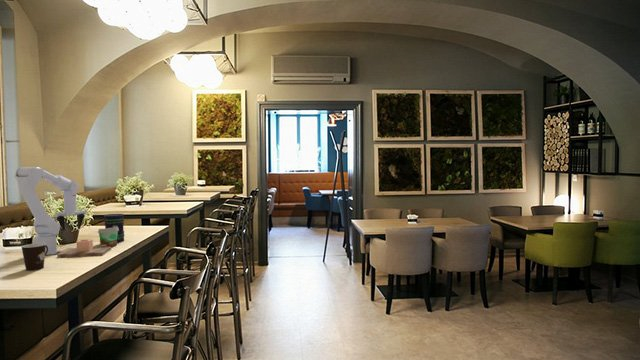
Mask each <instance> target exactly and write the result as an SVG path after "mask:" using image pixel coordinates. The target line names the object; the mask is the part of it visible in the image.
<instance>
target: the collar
mask: <svg viewBox="0 0 640 360" xmlns="http://www.w3.org/2000/svg"><path fill="white" fill-rule="evenodd" d="M75 242H76V248H77V252H85V251H91V250H92V249H93V247H94V245H93V244H94V243H93V242H94V241H93V238H91V239H90V238H86V239H82V238H81V239H79V240H77V241H75Z"/></svg>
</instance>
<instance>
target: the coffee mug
mask: <svg viewBox="0 0 640 360" xmlns="http://www.w3.org/2000/svg"><path fill="white" fill-rule="evenodd" d="M45 247H46V248H47V250H46V253H45ZM21 251H22V256H23V262H24V267H25V271H27V272H28V271H29V272H31V271H40V270H43V269H44V268H45V256H47V255H46V254H47V252H48V246H46V244H43V243H38V244H33V243H29V244H24V245H22V246H21Z"/></svg>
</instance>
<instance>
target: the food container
mask: <svg viewBox="0 0 640 360" xmlns="http://www.w3.org/2000/svg"><path fill="white" fill-rule="evenodd" d="M117 231H119V229H118V226H113V227H112V228H106V229H105V228H99V229H98V231H97V232H98V233H97V234H98V237H99V245H100V246H99V247H111V248H113V247H114V248H115V247H117V245H118V243H117Z"/></svg>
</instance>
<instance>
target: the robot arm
mask: <svg viewBox="0 0 640 360" xmlns="http://www.w3.org/2000/svg"><path fill="white" fill-rule="evenodd" d="M14 178H15V180H16V182H17V185H18V190H19V193H20V194H21V196H22V198H23V200H24V201H25V204H26V205H27V206H28V209H29V211H30V212H31V214H32V216H33V218H34V221H33V223H32V225H33V227H34V233H36V234H37V235H36V236H34V237H33V240H32V244H38V243H43V244H46V246H48V252H47V254H46V255H45V256H49V255H57V254H59V253H61V250H59V249H58V246H57V245H58V243H57V236H58V234H59V232H60V230H62V231H65V230H66V227H65V221H66V220H65V219H66V218H65V217H70V216H71V217H72V216H76V219H77V229H78V230H80V229H82V228H81V227H82V224H83V221H84V219H85V216H86V215H87V210H78V207H77V206H78V205H77V195H78V190H79V184H78V182H77V181H76V180H70V178H67V177H64V176H63V174H56V175H54V174H53V173H50V172H48V171H47V170H44V168H42V167H39V166H18V167H17V169H16V171H15V174H14ZM41 180H45V181H48V182H49V183H51V186H54V187H56V188H59V189H60V191H62V192H63V210H64V211H63V212H54V218H53V217H52V216H51V215H49V214H48V212H47V210H46V209H45V207H44V205H43V202H42V201H41V200H40V197H39V195H38V194H37V191H36V189H35V188H36V187H37V186H38V184H39V183H40V181H41ZM55 218H56V219H55ZM56 220H57V221H58V222H57V221H56ZM46 250H47V248H46V247H45V253H46Z"/></svg>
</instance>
